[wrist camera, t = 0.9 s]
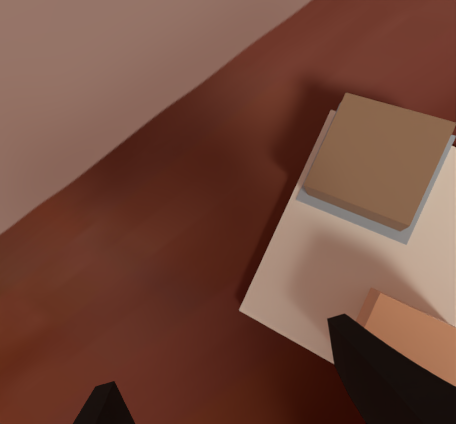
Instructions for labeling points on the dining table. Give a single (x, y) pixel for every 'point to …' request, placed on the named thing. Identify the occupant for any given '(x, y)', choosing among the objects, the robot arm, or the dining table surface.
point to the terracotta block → (411, 333)
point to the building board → (363, 224)
